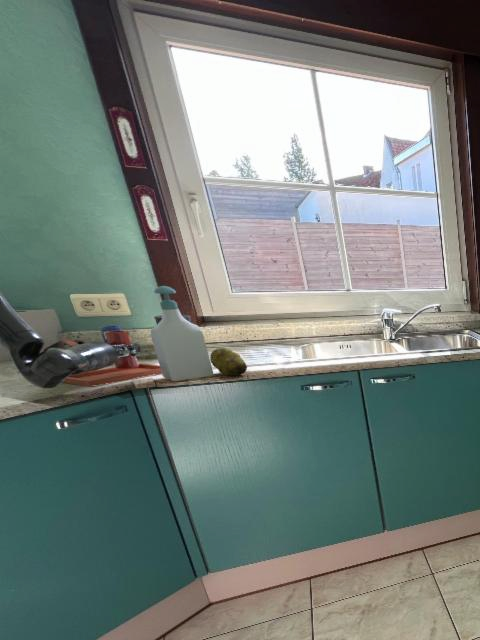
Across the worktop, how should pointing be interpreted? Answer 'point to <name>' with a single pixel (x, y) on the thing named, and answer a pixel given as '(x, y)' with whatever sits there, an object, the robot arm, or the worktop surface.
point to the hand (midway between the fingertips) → (125, 346)
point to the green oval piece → (228, 362)
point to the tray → (112, 375)
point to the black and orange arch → (63, 342)
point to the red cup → (117, 339)
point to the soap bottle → (179, 343)
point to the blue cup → (108, 328)
